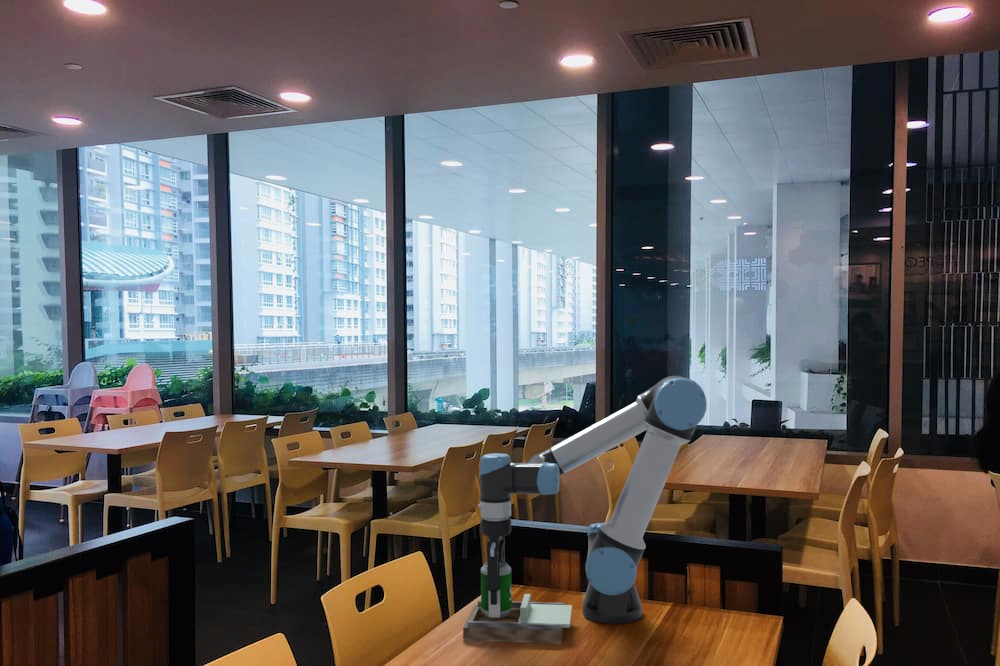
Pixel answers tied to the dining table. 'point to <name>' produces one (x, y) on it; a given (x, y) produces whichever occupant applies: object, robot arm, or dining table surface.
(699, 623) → the dining table surface
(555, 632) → the wooden tray box
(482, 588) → the soda can
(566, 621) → the lid
